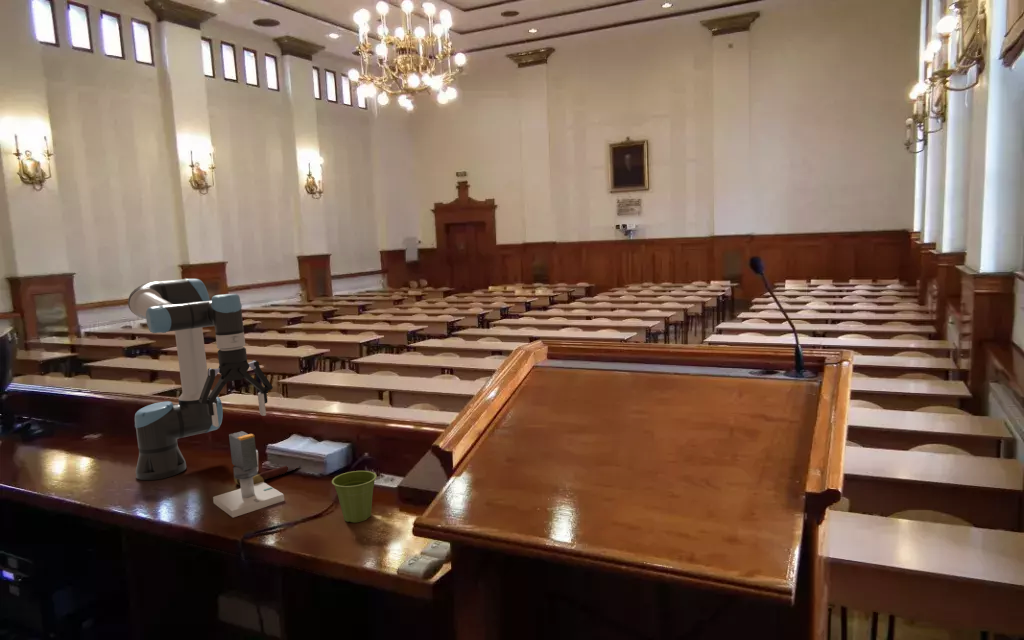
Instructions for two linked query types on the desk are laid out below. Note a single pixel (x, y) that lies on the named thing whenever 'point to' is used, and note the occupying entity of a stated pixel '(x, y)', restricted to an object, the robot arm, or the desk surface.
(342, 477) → the plant pot
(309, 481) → the desk surface
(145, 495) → the desk surface
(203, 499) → the desk surface
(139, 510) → the desk surface
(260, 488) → the base
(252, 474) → the grey block orange cap
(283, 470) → the gavel
